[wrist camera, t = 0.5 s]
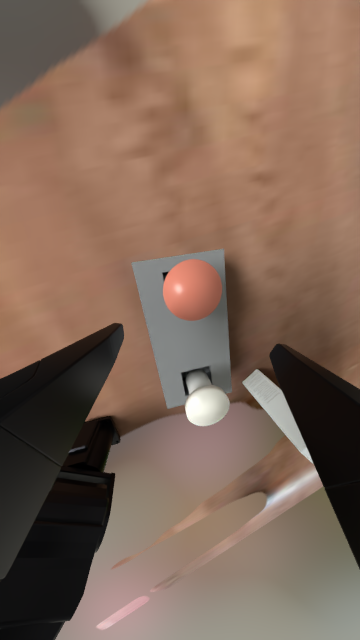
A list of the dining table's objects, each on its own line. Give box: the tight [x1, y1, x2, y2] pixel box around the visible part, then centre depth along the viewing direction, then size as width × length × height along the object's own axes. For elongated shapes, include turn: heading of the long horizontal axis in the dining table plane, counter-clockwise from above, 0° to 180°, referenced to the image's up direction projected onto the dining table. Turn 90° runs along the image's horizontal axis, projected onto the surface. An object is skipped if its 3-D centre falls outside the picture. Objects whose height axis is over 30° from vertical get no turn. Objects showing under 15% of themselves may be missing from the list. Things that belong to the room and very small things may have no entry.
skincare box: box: [242, 369, 314, 464], centre depth 22 cm, size 6×4×12 cm
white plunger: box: [185, 369, 230, 426], centre depth 18 cm, size 5×5×5 cm
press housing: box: [132, 249, 232, 409], centre depth 20 cm, size 20×10×5 cm, turn 9°
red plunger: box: [163, 259, 222, 321], centre depth 14 cm, size 5×5×5 cm
